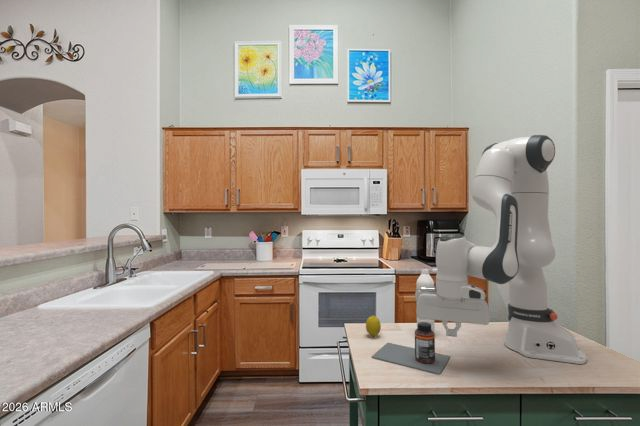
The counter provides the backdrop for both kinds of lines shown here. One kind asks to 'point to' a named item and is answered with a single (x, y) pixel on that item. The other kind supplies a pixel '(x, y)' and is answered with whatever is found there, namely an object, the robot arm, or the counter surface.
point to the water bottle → (426, 282)
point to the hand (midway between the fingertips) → (451, 335)
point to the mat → (410, 358)
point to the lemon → (373, 325)
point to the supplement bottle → (424, 343)
